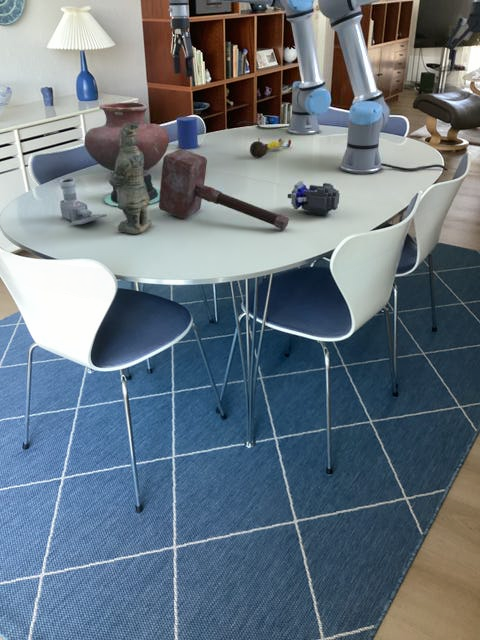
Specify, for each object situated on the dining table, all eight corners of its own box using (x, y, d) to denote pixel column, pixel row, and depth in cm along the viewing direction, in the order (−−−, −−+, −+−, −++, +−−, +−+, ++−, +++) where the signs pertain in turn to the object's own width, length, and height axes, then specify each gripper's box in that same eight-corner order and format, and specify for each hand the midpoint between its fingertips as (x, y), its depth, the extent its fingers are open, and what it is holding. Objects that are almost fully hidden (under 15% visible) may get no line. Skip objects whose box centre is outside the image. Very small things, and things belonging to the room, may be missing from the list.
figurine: (298, 136, 240) (268, 140, 221) (297, 154, 243) (267, 160, 224) (272, 133, 246) (241, 137, 227) (271, 151, 249) (240, 156, 230)
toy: (295, 178, 172) (342, 184, 166) (295, 205, 177) (340, 211, 171) (285, 186, 166) (333, 192, 160) (284, 213, 170) (331, 220, 164)
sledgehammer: (299, 190, 156) (179, 147, 167) (285, 200, 148) (161, 154, 160) (286, 244, 166) (174, 200, 177) (272, 256, 158) (156, 209, 170)
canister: (201, 147, 248) (200, 118, 242) (185, 150, 243) (183, 121, 237) (190, 143, 254) (189, 115, 247) (174, 146, 249) (172, 118, 243)
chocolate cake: (91, 202, 180) (113, 186, 197) (142, 231, 182) (160, 212, 199) (107, 162, 172) (129, 148, 190) (160, 192, 174) (177, 176, 192)
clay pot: (179, 163, 223) (174, 97, 211) (157, 185, 198) (150, 112, 185) (108, 161, 228) (99, 97, 216) (77, 183, 203) (65, 111, 190)
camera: (73, 174, 169) (102, 184, 161) (79, 211, 176) (108, 223, 167) (48, 181, 164) (77, 191, 155) (55, 219, 170) (83, 231, 161)
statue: (131, 220, 168) (117, 116, 152) (158, 224, 164) (147, 118, 149) (109, 233, 159) (93, 124, 144) (138, 237, 156) (124, 126, 140)
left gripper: (160, 17, 231) (165, 72, 242) (182, 18, 211) (186, 78, 222) (177, 16, 234) (181, 71, 244) (200, 17, 214) (203, 77, 225)
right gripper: (526, 0, 180) (511, 71, 191) (448, 1, 192) (438, 68, 202) (522, 0, 175) (507, 73, 185) (442, 1, 186) (432, 70, 197)
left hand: (183, 75), depth 233 cm, fingers open, 13 cm apart
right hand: (471, 71), depth 194 cm, fingers open, 13 cm apart
